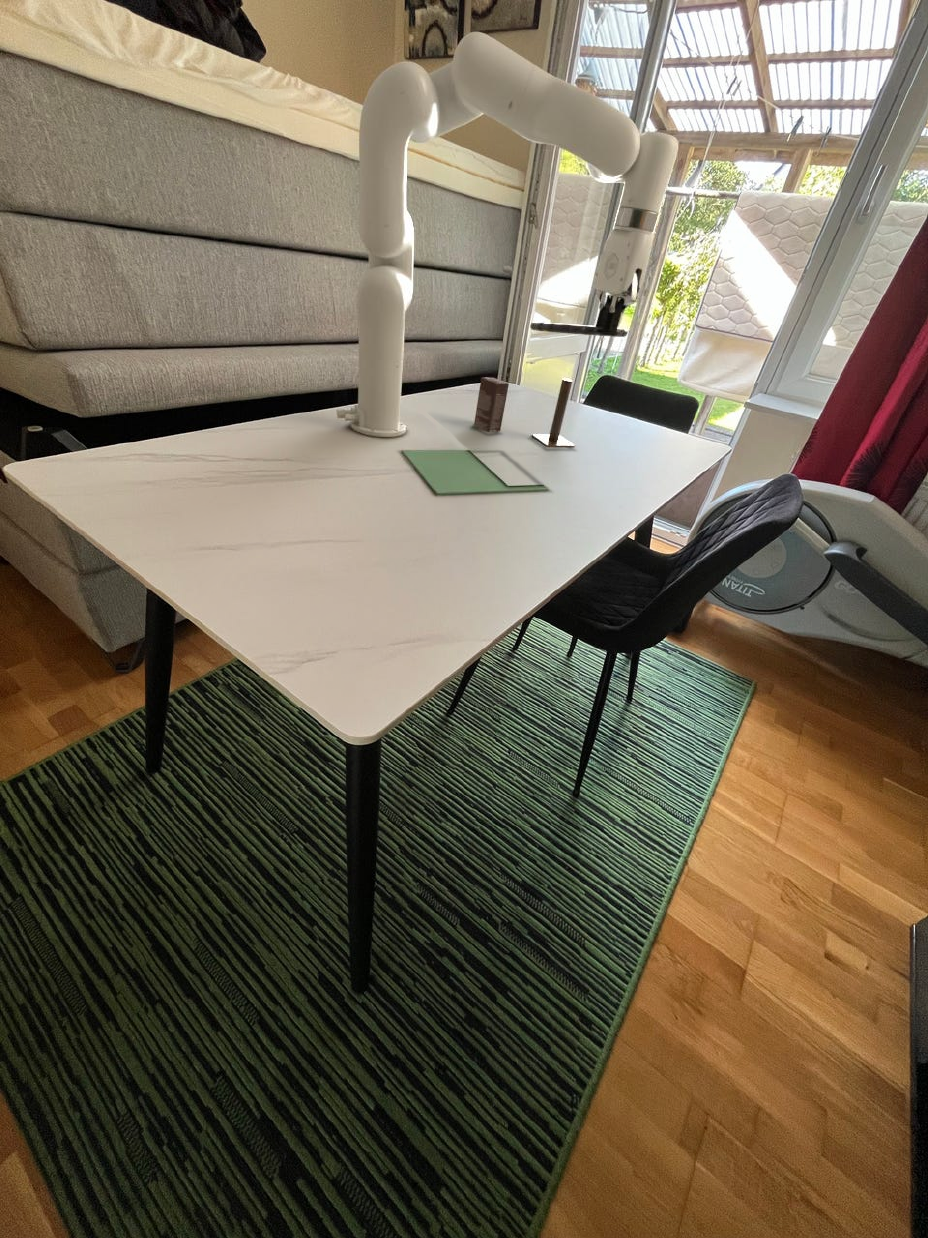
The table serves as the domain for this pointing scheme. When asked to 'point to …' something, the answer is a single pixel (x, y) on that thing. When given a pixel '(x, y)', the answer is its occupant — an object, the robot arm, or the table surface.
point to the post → (557, 420)
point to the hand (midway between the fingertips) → (604, 333)
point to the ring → (574, 329)
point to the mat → (460, 473)
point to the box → (491, 404)
